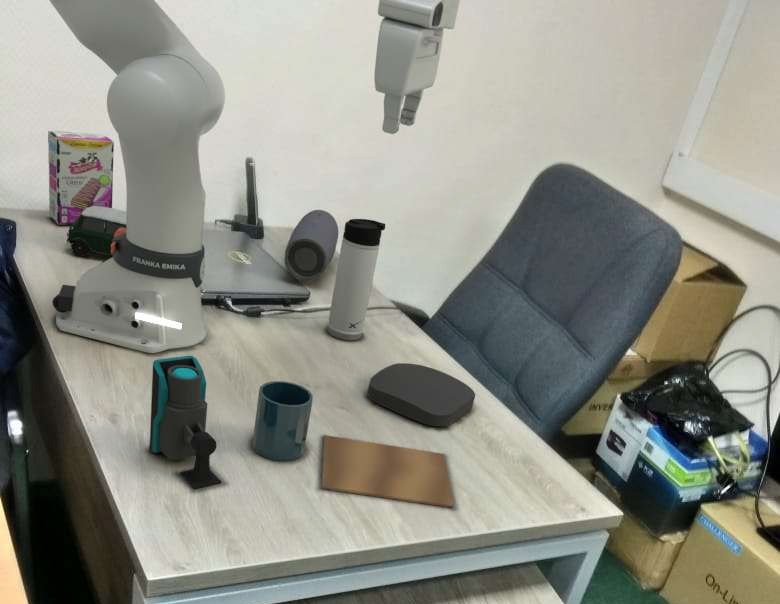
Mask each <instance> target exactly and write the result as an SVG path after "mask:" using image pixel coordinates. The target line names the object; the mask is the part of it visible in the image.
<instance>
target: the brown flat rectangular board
mask: <svg viewBox="0 0 780 604" xmlns="http://www.w3.org/2000/svg"><path fill="white" fill-rule="evenodd" d="M322 451H323V452H322V455H323V456H322V475H321V489H323V490H329V491H336V492H343V493H349V494H355V495H356V494H357V495H362V496H363V495H364V496H371V497H378V498H382V499H389V500H397V501H403V502H411V503H416V504H424V505H431V506H438V507H445V508H452V509H453V508H454V501H453V496H452V491H451V485H450V481H449V476H448V471H447V466H446V461H445V456H444V453H438V452H433V451H427V450H421V449H414V448H408V447H407V448H406V447H402V446H395V445H390V444H389V445H388V444H383V443H376V442H370V441H364V440H357V439H350V438H345V437H338V436H332V435H325V434H324V435H323V449H322Z"/></svg>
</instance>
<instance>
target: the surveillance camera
mask: <svg viewBox="0 0 780 604" xmlns="http://www.w3.org/2000/svg"><path fill="white" fill-rule="evenodd" d="M206 392H207V381H206V376H205V373H204V370H203V368H202V366H201V364H200V362H199V360H198V359H197V358H196V357H195V356H193V355H183V356H176V357H175V356H174V357H167V358H158V359H157V358H156V359H154V360H153V362H152V379H151V401H150V402H151V403H150V404H151V405H150V429H149V451H151V452H153V453H156V454H157V453H163V454H164V455H165V456H166V457H167V458H169V459H171V460H181V459H186V458H190V457H191V458H192V457H195V458H194V465H193V468H192V469H189V470H184V471H180V472H179V474H180V476H181V477H183V479H184V480H185V481H186V483H188V484H189V485H190V486H191V487H192V488H193V489H194V490H197V489H203V488H206V487H210V486H211V487H212V486H215V485H218V484H222V480H221V479H220V478H219V477H218V476H217V475H216V474H215V473H214V471H212V470H211V467H210V465H211V464H210V458H211V457H210V456H211V455H213V453H215V451H216V449H217V446H218V444H217V441H216V439H215V438H214V437H213V436H212V435H211V434H209V433H208V432H207V431H206V427H207V426H206V425H207V415H208V402H207V401H206Z"/></svg>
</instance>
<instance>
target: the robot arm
mask: <svg viewBox="0 0 780 604" xmlns="http://www.w3.org/2000/svg"><path fill="white" fill-rule="evenodd" d="M49 2H50V3H51V5H52V6H53V8H54V9H55V11H56V12H57V13H58V15H59V16H60V17H61V19H62V20H63V22H64V23H65V24H66V26H67V27H68V29H69V30H70V31H71V33H72V34H73V35H74V37H75V38H76V40H77V41H78V42H79V43H80V44H81V45H82V46H84V48H86V49H87V50H89V51H91V52H92V53H93V54H95V56H97V57H98V58H99V59H100V60H101V61H102V62H103V63H105V65H106V66H107V67H109V68H110V69H111V71H113V73H114V74H115V75H116V76H115V77H114V79H113V80H112V82H110V85H109V88H108V92H107V96H106V109H107V114H108V118H109V121H110V123H111V125H112V127H113V129H114V130H115V132H116V134H117V136H118V140H119V146H120V150H121V151H120V152H121V156H122V161H123V167H124V175H125V183H126V209H125V211H126V229H125V228H119V229H118V230H117V231H116V232H115V234H114V238H113V240H112V244H111V253H112V256H111V257H110V258H108V259H106V260H105V261H103V262H101V263H99V264H98V265H96V266H93V267H92V268H91V269H89V270H87V271H86V272H84V273H83V274H82V275H81V276H80V278H79V279H78V280H77V283H76V284H75V285H71V284H70V285H69V284H62V286H61V288H60V291H59V292H58V294H57V295H55V296H54V297H53V299H52V301H51V302H52V307H53V308H54V309H55V310H56V311H57V312H56V319H55V324H56V326H57V328H58V329H59V331H62V332H65V333H69V334H72V335H76V336H81V337H84V338H88V339H93V340H95V341H96V340H97V341H100V342H104V343H108V344H112V345H116V346H120V347H123V348H127V349H131V350H136V351H139V352H143V353H147V354H156V353H160V352H164V351H166V350H173V349H180V348H181V349H182V348H188V347H192V346H195V345H198V344H199V343H202V342H203V341H204V340H205V338H206V336H207V329H206V325H205V321H204V316H203V306H202V289H201V288H202V286H201V285H202V283H203V281H204V277H205V266H206V265H205V263H206V255H205V252H206V251H205V246H204V244H203V240H204V239H203V237H204V225H205V223H204V222H205V213H206V212H205V211H206V209H205V208H206V196H207V195H206V190H205V187H204V186H203V181H202V175H201V166H200V156H199V155H200V153H199V149H200V148H199V146H200V139H201V137H202V136H203V135H205V134H207V133H209V132H210V131H211V130H212V129H213V128H214V127H215V126H216V124H217V123H218V121H219V120H220V117H221V115H222V113H223V110H224V108H225V103H226V91H225V85H224V82H223V80H222V77H221V76H220V73H219V72H218V70H217V69H216V68H215V67H214V65H212V64H211V63H210V61H209V62H208V60H206V58H204V57H203V56H202V54H201V53H200V52H199V51H198V50H197V49H196V47H195V46H194V45H193V44H192V43H191V41H190V40H189V39H188V37H187V36H186V35H185V34H184V32H183V31H182V29H180V28H179V27H178V26H177V24H176V23H175V22H174V21H173V20H172V18H171V17H170V16H169V15H168V14H167V13H166V12H165V11H164V9H162V7H161V6H160V5H159V4H158V3H157V1H156V0H49ZM460 2H461V0H378V6H377V15H378V16H379V17H382V19H381V21H380V25H379V30H378V36H377V43H376V54H375V64H374V77H373V79H374V89H375V91H376V92H378V93H381V94H384V98H383V122H382V127H381V128H382V129H381V130H382V131H383V133H385V134H390V135H395V134H396V133H398V132H399V129H400V124H401V125H404V126H407V127H411V126H413V125H414V124H415V122H416V116H417V112H418V110H419V107H420V104H421V102H422V99H423V94H424V90H426V89H429V88H432V87H433V86H434V84H435V81H436V78H437V74H438V68H439V62H440V57H441V52H442V45H443V40H444V39H443V38H444V29H448V30H454V29H455V26H456V22H457V17H458V12H459V7H460ZM402 106H403V107H402Z"/></svg>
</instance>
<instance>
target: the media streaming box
mask: <svg viewBox="0 0 780 604" xmlns="http://www.w3.org/2000/svg"><path fill="white" fill-rule="evenodd" d="M367 396H368V398H369V399H371V401H373V402H375V403H376V404H379V405H381V406H382V407H385V408H387V409H389V410H392V411H394V412H396V413H398V414H400V415H402V416H405V417H407V418H409V419H412V420H414V421H417V422H419V423H421V424H424V425H426V426H427V425H428V426H433V427H446V426H450V425H451V424H453V423H455V422H456V421H457V420H459V419H460V418H462V417H463V416H464V415H466V413H468V412H469V411H470V410H471V409H472V408H473V404H474V402H475V398H476V393H475V391H474V390H473V389H472V388H471V387H470V385H468V384H466V383H465V382H463V381H461V380H460V379H458V378H457V377H454V376H452V375H450V374H448V373H445V372H443V371H441V370H438V369H435V368H433V367H429V366H426V365H421V364H416V363H407V362H406V363H405V362H399V363H393V364H391V365H388V366H385V367H384V368H382V369H381V370H379V371H377V372H376V373H375V374H374V375H373V376H372V377H370V380H369V384H368V389H367Z"/></svg>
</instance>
